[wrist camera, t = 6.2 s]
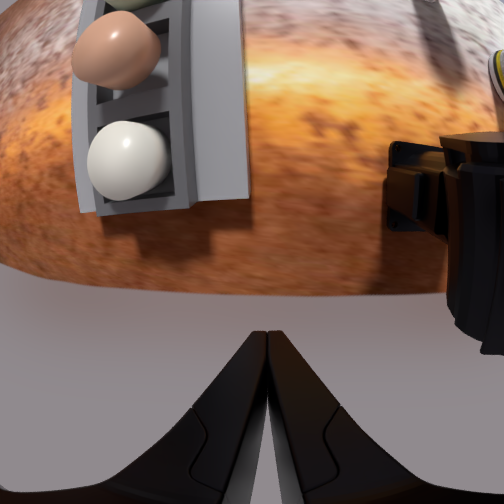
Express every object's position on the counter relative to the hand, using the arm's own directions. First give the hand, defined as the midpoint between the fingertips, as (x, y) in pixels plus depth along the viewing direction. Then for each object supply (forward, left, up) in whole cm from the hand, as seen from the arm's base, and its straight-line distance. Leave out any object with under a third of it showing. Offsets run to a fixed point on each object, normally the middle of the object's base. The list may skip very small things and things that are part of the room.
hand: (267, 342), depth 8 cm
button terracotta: (+7, -11, -7) cm, 15 cm away
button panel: (+7, -11, -12) cm, 18 cm away
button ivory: (+7, -6, -8) cm, 12 cm away
